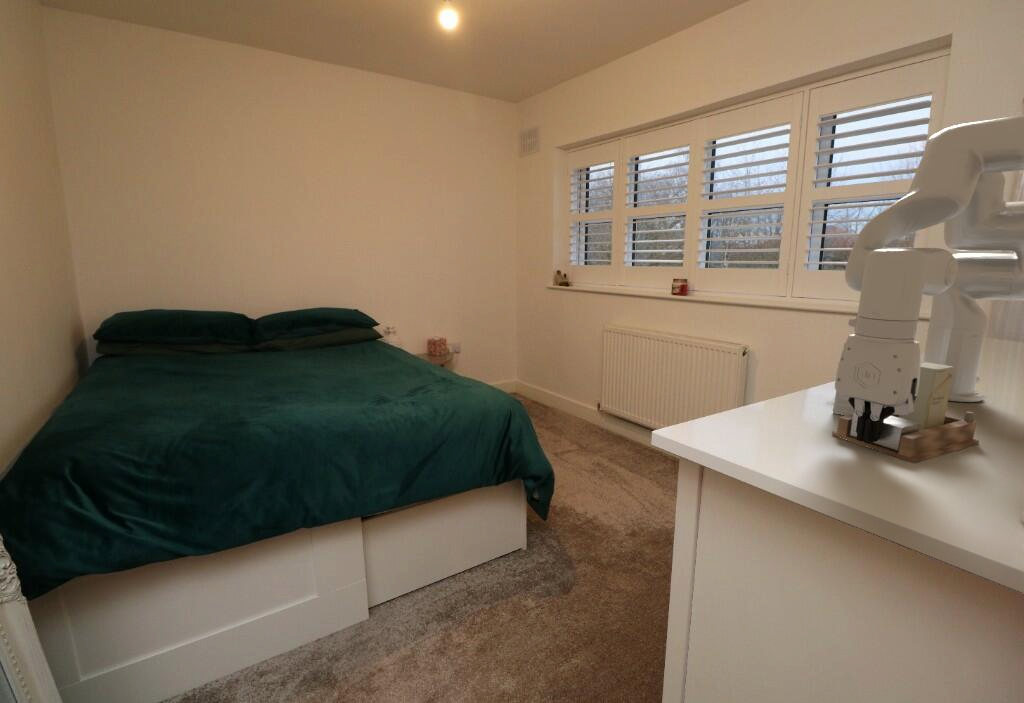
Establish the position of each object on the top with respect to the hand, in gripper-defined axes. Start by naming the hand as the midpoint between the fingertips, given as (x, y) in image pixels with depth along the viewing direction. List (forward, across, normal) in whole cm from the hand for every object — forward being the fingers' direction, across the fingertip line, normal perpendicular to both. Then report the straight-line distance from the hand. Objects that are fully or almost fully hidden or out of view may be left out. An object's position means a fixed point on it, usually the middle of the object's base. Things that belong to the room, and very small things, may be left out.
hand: (867, 440), depth 79 cm
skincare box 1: (+2, -12, +18) cm, 21 cm away
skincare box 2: (+1, 0, +15) cm, 15 cm away
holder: (+2, 0, +11) cm, 11 cm away
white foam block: (+1, 0, +4) cm, 4 cm away
